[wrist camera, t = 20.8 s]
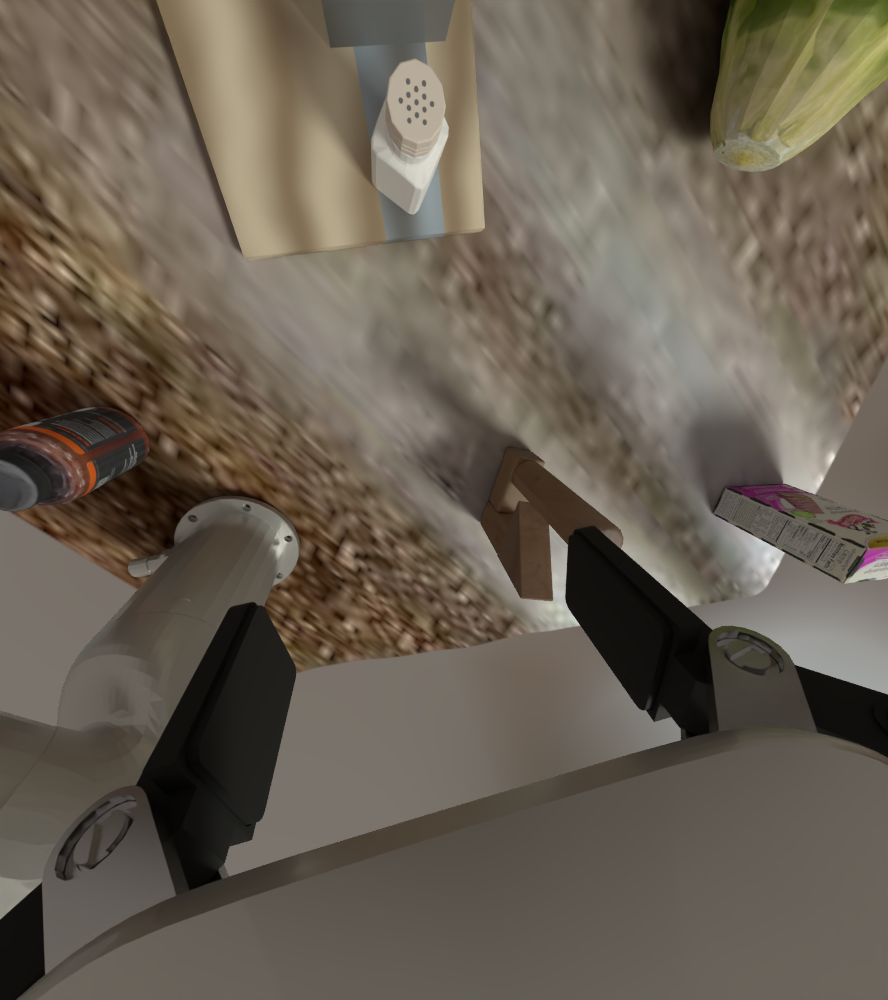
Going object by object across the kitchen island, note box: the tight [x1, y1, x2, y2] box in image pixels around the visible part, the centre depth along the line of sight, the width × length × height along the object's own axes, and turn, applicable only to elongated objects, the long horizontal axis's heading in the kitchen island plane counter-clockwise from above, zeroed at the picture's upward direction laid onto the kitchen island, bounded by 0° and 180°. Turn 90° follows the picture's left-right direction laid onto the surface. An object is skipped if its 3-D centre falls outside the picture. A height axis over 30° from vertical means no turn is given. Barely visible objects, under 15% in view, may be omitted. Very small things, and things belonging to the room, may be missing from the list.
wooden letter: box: [481, 447, 623, 601], centre depth 34 cm, size 4×11×18 cm, turn 165°
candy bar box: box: [713, 484, 888, 584], centre depth 43 cm, size 11×5×16 cm, turn 88°
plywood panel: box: [156, 0, 485, 261], centre depth 23 cm, size 20×20×1 cm
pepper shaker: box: [371, 59, 449, 215], centre depth 22 cm, size 4×4×10 cm
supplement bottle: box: [0, 407, 150, 511], centre depth 27 cm, size 6×6×11 cm
